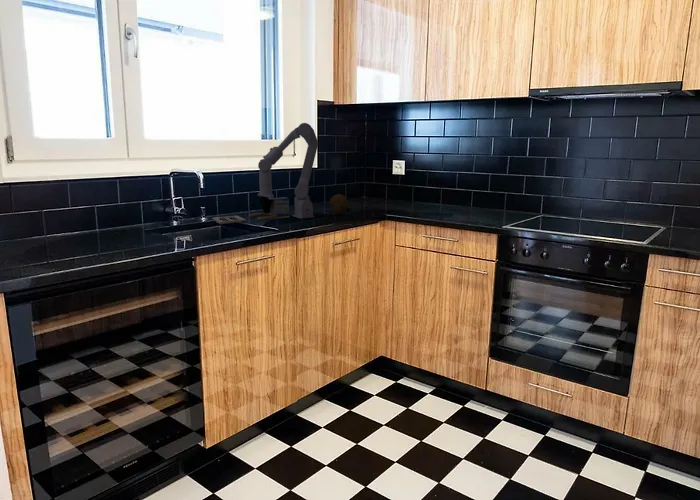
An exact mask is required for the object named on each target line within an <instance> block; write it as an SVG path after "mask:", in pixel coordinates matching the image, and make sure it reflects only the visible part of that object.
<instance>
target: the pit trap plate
mask: <svg viewBox="0 0 700 500" xmlns="http://www.w3.org/2000/svg"><path fill="white" fill-rule="evenodd" d="M230 218H232V219H230ZM234 218H235V219H234ZM212 219H213V220H215V221H216V222H215V221H214V222H215V223H217V224H219V225H224V224H234V222H236V223H243V222H242V221H247V219H245V218H243V217H241V216H239V215H229V216H217V217H216V216H215V217H211V220H212ZM220 219H221V220H220ZM225 219H226V220H225ZM236 219H237V220H236ZM213 220H212V221H213ZM227 220H228V221H227Z"/></svg>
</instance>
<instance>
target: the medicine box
mask: <svg viewBox="0 0 700 500" xmlns="http://www.w3.org/2000/svg"><path fill="white" fill-rule="evenodd" d="M289 209H290V198H289V197H286V196H284V197H283V196H281V197H274V199H273V202H272V204H271V207H270V214H271V215H270V216H278V217H284V216H290V210H289Z"/></svg>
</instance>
